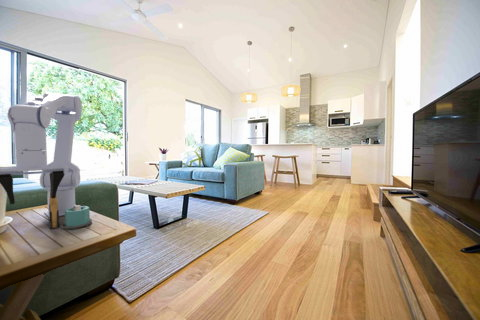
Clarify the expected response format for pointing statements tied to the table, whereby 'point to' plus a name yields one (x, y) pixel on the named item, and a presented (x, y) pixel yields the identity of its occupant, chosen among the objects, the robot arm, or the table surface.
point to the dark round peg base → (75, 208)
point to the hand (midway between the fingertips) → (33, 200)
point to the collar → (77, 216)
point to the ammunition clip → (53, 213)
